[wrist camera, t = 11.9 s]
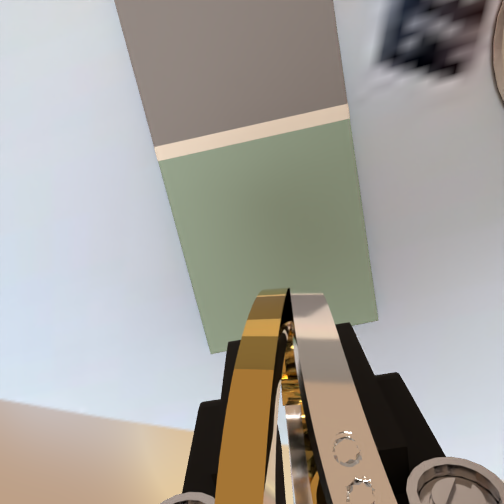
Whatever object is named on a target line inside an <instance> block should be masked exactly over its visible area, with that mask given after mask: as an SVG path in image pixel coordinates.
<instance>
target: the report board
mask: <svg viewBox="0 0 504 504" xmlns="http://www.w3.org/2000/svg"><path fill="white" fill-rule="evenodd" d="M114 1H115V5H116V9H117V12H118V16H119V20H120V23H121V27H122V31H123V34H124V38H125V41H126V45H127V49H128V52H129V56H130V60H131V63H132V67H133V71H134V74H135V78H136V82H137V85H138V89H139V93H140V96H141V100H142V104H143V107H144V111H145V115H146V118H147V122H148V126H149V129H150V133H151V137H152V140H153V144H154V149H155V153H156V156H157V160H158V162H159V166H160V170H161V173H162V177H163V181H164V184H165V188H166V192H167V195H168V199H169V203H170V206H171V210H172V214H173V217H174V221H175V225H176V228H177V232H178V236H179V239H180V243H181V247H182V250H183V254H184V258H185V261H186V265H187V269H188V272H189V276H190V279H191V283H192V287H193V290H194V294H195V298H196V301H197V305H198V309H199V312H200V316H201V320H202V323H203V327H204V331H205V334H206V338H207V342H208V345H209V349H210V353H211V354H214V353H219V352H224V351H227V346H228V342H230V341H236V340H241V338H242V334H243V331H244V328H245V324H246V321H247V318H248V315H249V313H250V310H251V308H252V305H253V303H254V301H255V299H256V297H257V295H258V294H259V293H260V292H261V291H262V290H263V289H272V288H287V287H290V288H291V287H319V288H320V289H321V291H322V292H323V294H324V296H325V299H326V301H327V304H328V306H329V309H330V312H331V314H332V317H333V320H334V323H335V324H341V323H347V322H350V324H351V326H353V325H358V324H363V323H368V322H373V321H378V315H377V308H376V301H375V294H374V287H373V280H372V273H371V266H370V259H369V252H368V244H367V237H366V230H365V223H364V216H363V209H362V202H361V195H360V188H359V181H358V174H357V167H356V160H355V153H354V146H353V139H352V132H351V125H350V115H349V108H348V104H347V97H346V90H345V83H344V76H343V69H342V62H341V55H340V48H339V41H338V33H337V26H336V19H335V12H334V5H333V0H114Z"/></svg>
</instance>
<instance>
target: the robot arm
mask: <svg viewBox="0 0 504 504" xmlns="http://www.w3.org/2000/svg"><path fill="white" fill-rule="evenodd" d="M493 65H494V71H495V76H496V81H497V86H498V89H499V92H500V94H501V97H502V99H503V101H504V0H503V2H502V5H501V8H500V11H499V14H498V17H497V23H496V29H495V35H494V41H493ZM335 326H336V329H337V332H338V335H339V339H340V342H341V345H342V348H343V351H344V354H345V357H346V360H347V364H348V367H349V370H350V373H351V376H352V379H353V382H354V385H355V388H356V391H357V394H358V397H359V400H360V403H361V406H362V408H363V411H364V414H365V417H366V420H367V423H368V426H369V428H370V431H371V434H372V437H373V440H374V442H375V445H376V448H377V451H378V453H379V456H380V459H381V462H382V464H383V467H384V470H385V472H386V475H387V478H388V480H389V483H390V486H391V488H392V491H393V494H394V496H395V499H396V501H397V504H504V483H503V482H502V481H501V480H500V479H499V478H498V477H497V476H496V475H495V474H494V473H492V472H491V471H489V470H488V469H486V468H485V467H483V466H482V465H479V464H477V463H474V462H471V461H469V460H466V459H461V458H455V457H446V456H445V454H444V453H443V451H442V449H441V447H440V445H439V444H438V442H437V440H436V438H435V436H434V435H433V433H432V431H431V429H430V428H429V426H428V424H427V422H426V420H425V419H424V417H423V415H422V413H421V412H420V410H419V408H418V406H417V404H416V403H415V401H414V399H413V397H412V396H411V394H410V392H409V390H408V388H407V387H406V385H405V383H404V381H403V380H402V378H401V376H400V375H399V373H397V372H395V373H388V374H382V375H375V376H374V373H373V371H372V369H371V367H370V365H369V363H368V360H367V358H366V356H365V354H364V352H363V350H362V347H361V345H360V343H359V341H358V339H357V337H356V334H355V332H354V330H353V328H352V326H351V324H350V322H347V323H341V324H335ZM240 342H241V340H236V341H230V342H228V346H227V354H226V362H225V369H224V377H223V385H222V393H221V399H219V400H212V401H206V402H202V403H201V404H200V406H199V410H198V415H197V420H196V425H195V430H194V435H193V441H192V446H191V451H190V456H189V461H188V466H187V471H186V476H185V481H184V486H183V492H182V494H179V495H175V496H173V497H171V498H169V499H167V500H165V501H163V502H162V503H161V504H214V503H215V493H216V484H217V475H218V466H219V458H220V450H221V443H222V435H223V429H224V422H225V416H226V409H227V403H228V398H229V392H230V387H231V382H232V377H233V372H234V367H235V362H236V358H237V354H238V350H239V346H240ZM275 504H286V500H285V486H284V473H283V461H282V448H281V441H280V435H279V430H278V425H277V436H276V463H275Z"/></svg>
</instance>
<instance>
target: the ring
mask: <svg viewBox="0 0 504 504" xmlns="http://www.w3.org/2000/svg"><path fill="white" fill-rule="evenodd" d="M280 386H281V387H282V401H283V406H285V410H286V421H287V432H288V443H289V455H290V466H291V477H292V489H293V500H294V504H397V501H396V499H395V496H394V494H393V491H392V488H391V486H390V483H389V480H388V478H387V475H386V472H385V470H384V467H383V464H382V462H381V459H380V456H379V453H378V451H377V448H376V445H375V442H374V440H373V437H372V434H371V431H370V428H369V426H368V423H367V420H366V417H365V414H364V411H363V408H362V406H361V403H360V400H359V397H358V394H357V391H356V388H355V385H354V382H353V379H352V376H351V373H350V370H349V367H348V364H347V360H346V357H345V354H344V351H343V348H342V345H341V342H340V339H339V335H338V332H337V329H336V326H335V323H334V320H333V317H332V314H331V312H330V309H329V306H328V304H327V301H326V299H325V296H324V294H323V292H322V291H321V289H320V288H319V287H291V288H290V287H287V288H272V289H263V290H262V291H261V292H260V293H259V294H258V295H257V297H256V299H255V301H254V303H253V305H252V308H251V310H250V313H249V315H248V318H247V321H246V324H245V328H244V331H243V334H242V338H241V342H240V346H239V350H238V354H237V358H236V362H235V367H234V372H233V377H232V382H231V387H230V392H229V398H228V403H227V409H226V416H225V422H224V429H223V435H222V443H221V450H220V458H219V466H218V475H217V484H216V493H215V503H214V504H275V463H276V436H277V419H278V406H279V396H280Z"/></svg>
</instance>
